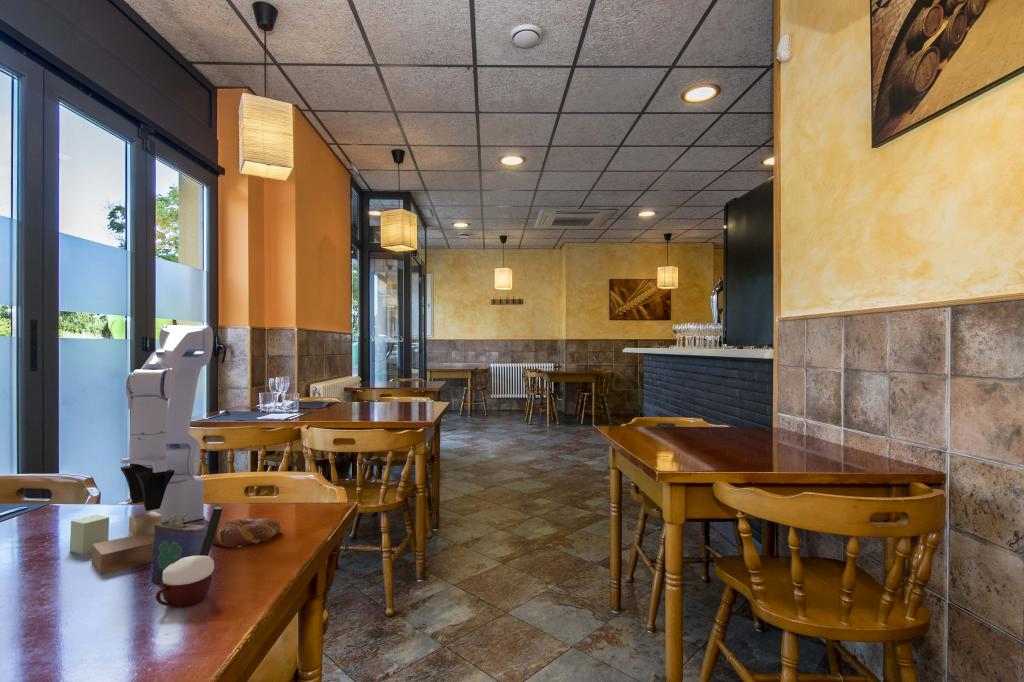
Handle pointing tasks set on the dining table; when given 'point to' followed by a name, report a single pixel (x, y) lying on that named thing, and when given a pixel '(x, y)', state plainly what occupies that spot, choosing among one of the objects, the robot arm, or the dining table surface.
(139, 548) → the walnut slab
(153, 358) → the robot arm
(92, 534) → the sage block
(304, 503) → the dining table surface
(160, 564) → the flask
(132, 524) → the beech block
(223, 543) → the pretzel
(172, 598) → the cocoa
